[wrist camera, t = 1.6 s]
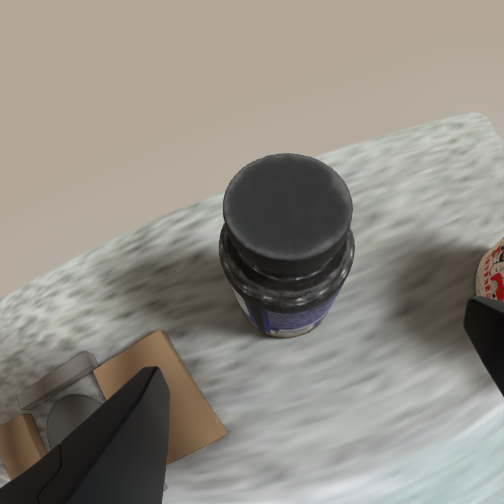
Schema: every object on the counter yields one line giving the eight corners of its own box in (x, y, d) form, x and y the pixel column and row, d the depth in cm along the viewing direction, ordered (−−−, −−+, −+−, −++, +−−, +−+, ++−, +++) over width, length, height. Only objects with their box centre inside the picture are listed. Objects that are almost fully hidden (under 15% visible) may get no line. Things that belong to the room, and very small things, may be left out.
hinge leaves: (155, 313, 21) (148, 309, 20) (242, 451, 16) (239, 455, 15) (-6, 417, 17) (-15, 416, 16) (45, 524, 12) (37, 527, 11)
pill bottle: (342, 274, 21) (389, 170, 11) (308, 355, 19) (342, 314, 9) (263, 241, 22) (249, 125, 12) (223, 316, 20) (170, 238, 10)
